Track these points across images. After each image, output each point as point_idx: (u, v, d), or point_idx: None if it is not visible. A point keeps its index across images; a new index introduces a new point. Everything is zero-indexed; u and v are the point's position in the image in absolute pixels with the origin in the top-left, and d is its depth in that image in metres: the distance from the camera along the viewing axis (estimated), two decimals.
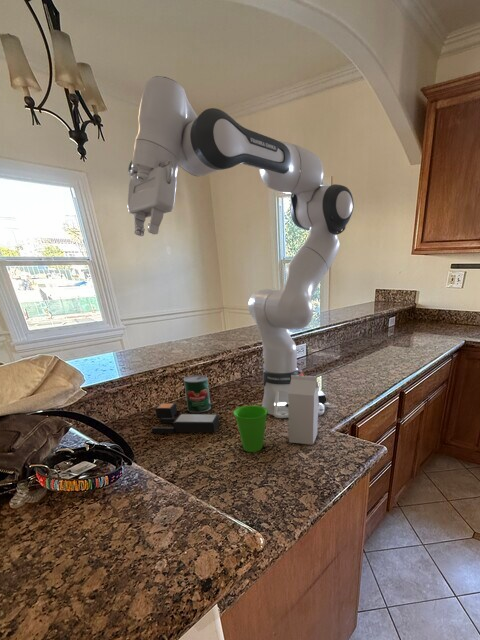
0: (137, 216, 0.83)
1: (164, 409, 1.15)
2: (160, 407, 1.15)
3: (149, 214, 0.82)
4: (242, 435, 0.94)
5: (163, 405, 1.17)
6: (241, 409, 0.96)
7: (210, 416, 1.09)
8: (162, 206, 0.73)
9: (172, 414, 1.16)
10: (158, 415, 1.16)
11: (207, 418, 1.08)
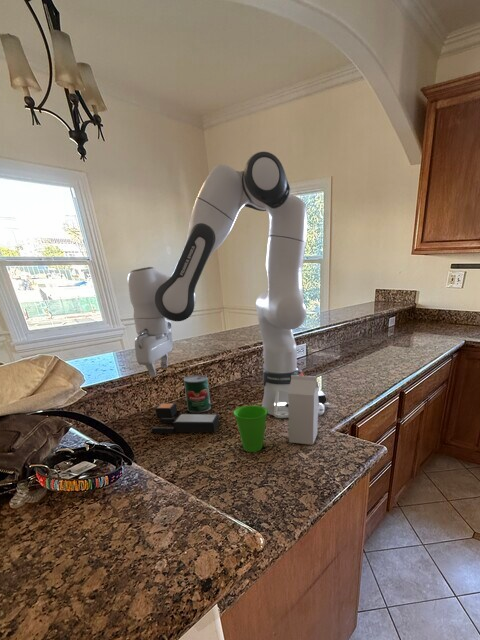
0: None
1: (164, 409, 1.15)
2: (160, 407, 1.15)
3: None
4: (242, 435, 0.94)
5: (163, 405, 1.17)
6: (241, 409, 0.96)
7: (210, 416, 1.09)
8: (142, 364, 1.01)
9: (172, 414, 1.16)
10: (158, 415, 1.16)
11: (207, 418, 1.08)
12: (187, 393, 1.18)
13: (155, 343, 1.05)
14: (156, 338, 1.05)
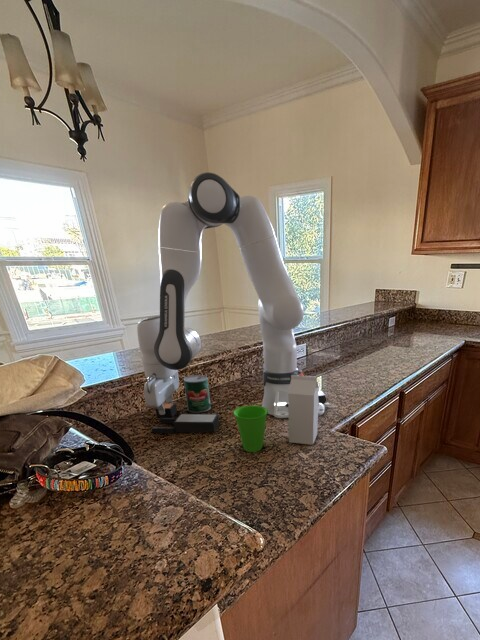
0: None
1: None
2: None
3: None
4: (242, 435, 0.94)
5: (163, 405, 1.17)
6: (241, 409, 0.96)
7: (210, 416, 1.09)
8: (151, 407, 1.07)
9: (172, 414, 1.16)
10: (158, 415, 1.16)
11: (207, 418, 1.08)
12: (187, 393, 1.18)
13: (163, 385, 1.11)
14: (164, 381, 1.11)
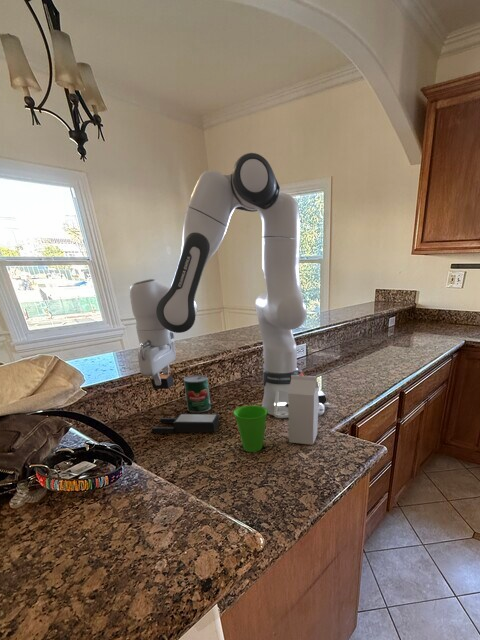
0: None
1: None
2: None
3: None
4: (242, 435, 0.94)
5: None
6: (241, 409, 0.96)
7: (210, 416, 1.09)
8: (146, 375, 1.02)
9: (168, 385, 1.12)
10: (154, 386, 1.11)
11: (207, 418, 1.08)
12: (187, 393, 1.18)
13: (158, 354, 1.06)
14: (159, 349, 1.06)
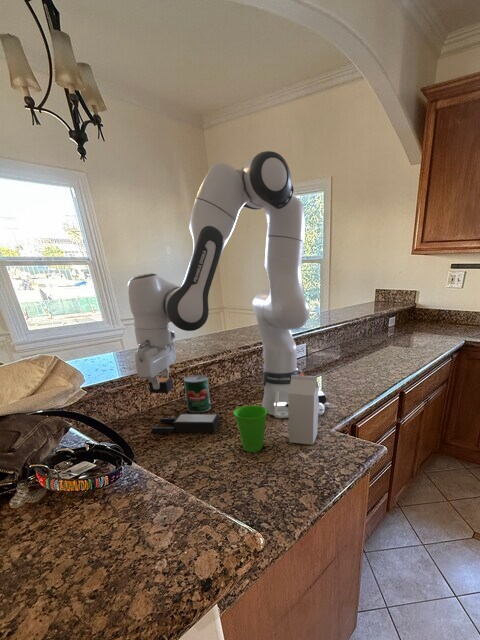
0: None
1: None
2: None
3: None
4: (242, 435, 0.94)
5: (158, 379, 1.03)
6: (241, 409, 0.96)
7: (210, 416, 1.09)
8: (143, 378, 0.93)
9: (168, 389, 1.03)
10: (152, 390, 1.02)
11: (207, 418, 1.08)
12: (187, 393, 1.18)
13: (157, 355, 0.97)
14: (158, 350, 0.97)
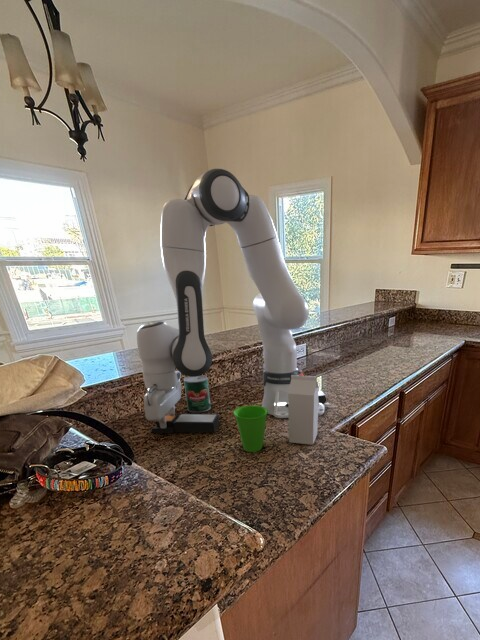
0: None
1: None
2: None
3: None
4: (242, 435, 0.94)
5: None
6: (241, 409, 0.96)
7: (210, 416, 1.09)
8: None
9: None
10: None
11: (207, 418, 1.08)
12: (187, 393, 1.18)
13: (164, 397, 1.02)
14: (165, 392, 1.02)
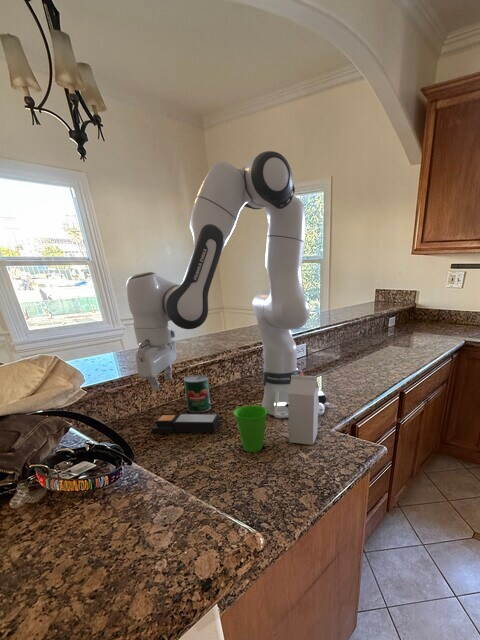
0: None
1: (165, 422, 1.06)
2: (161, 419, 1.06)
3: None
4: (242, 435, 0.94)
5: (164, 417, 1.08)
6: (241, 409, 0.96)
7: (210, 416, 1.09)
8: (145, 378, 0.93)
9: None
10: None
11: (207, 418, 1.08)
12: (187, 393, 1.18)
13: (158, 354, 0.97)
14: (159, 349, 0.97)
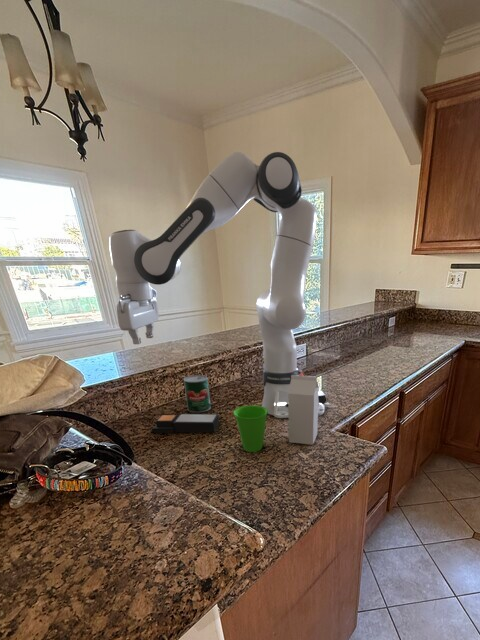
0: (146, 325, 1.12)
1: (165, 422, 1.06)
2: (161, 419, 1.06)
3: None
4: (242, 435, 0.94)
5: (164, 417, 1.08)
6: (241, 409, 0.96)
7: (210, 416, 1.09)
8: (125, 330, 0.99)
9: None
10: None
11: (207, 418, 1.08)
12: (187, 393, 1.18)
13: (138, 310, 1.03)
14: (139, 304, 1.02)
